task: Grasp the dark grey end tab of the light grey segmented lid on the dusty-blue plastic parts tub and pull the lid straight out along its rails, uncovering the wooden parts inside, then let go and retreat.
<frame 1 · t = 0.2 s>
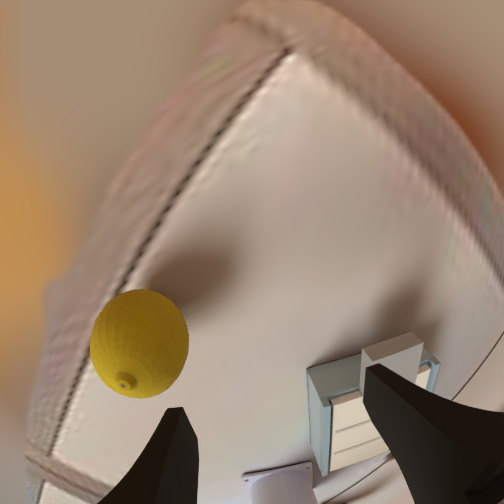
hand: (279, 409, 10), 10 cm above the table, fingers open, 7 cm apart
lid: (382, 414, 19), point 4 cm above the table, slide at 0.0 cm
lemon: (153, 308, 19), on the table
tub: (359, 396, 23), on the table
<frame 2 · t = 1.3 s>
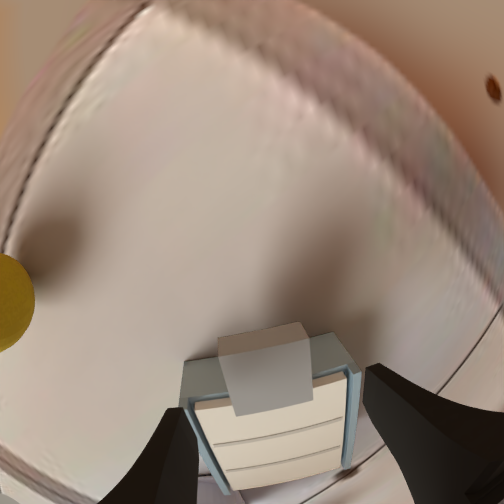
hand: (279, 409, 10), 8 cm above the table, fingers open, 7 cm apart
lid: (278, 433, 15), point 4 cm above the table, slide at 0.0 cm
lemon: (25, 278, 15), on the table
tub: (270, 405, 20), on the table
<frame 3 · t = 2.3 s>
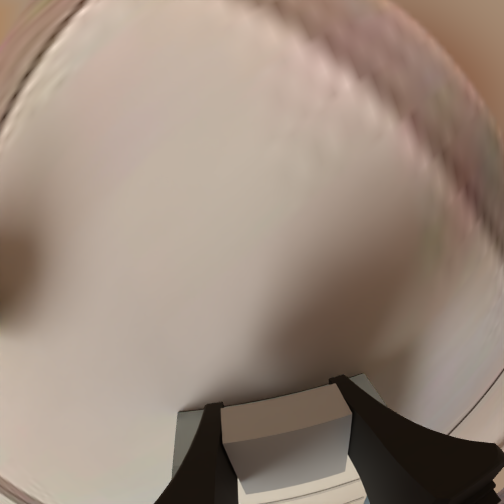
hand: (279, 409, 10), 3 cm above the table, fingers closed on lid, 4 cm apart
lid: (296, 497, 10), point 4 cm above the table, slide at 0.0 cm, touching gripper
tub: (282, 453, 15), on the table
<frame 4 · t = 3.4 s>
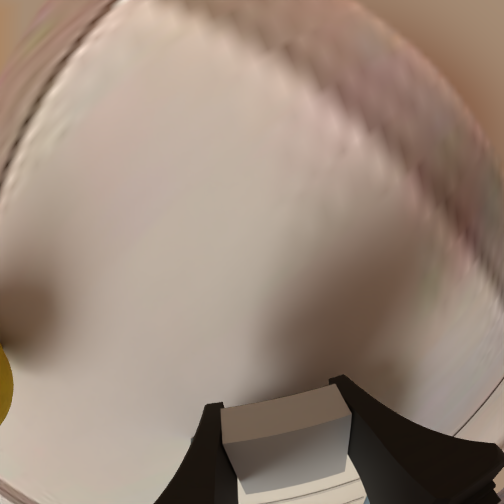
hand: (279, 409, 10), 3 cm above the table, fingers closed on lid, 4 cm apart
lid: (296, 497, 10), point 4 cm above the table, slide at 2.4 cm, touching gripper
lemon: (1, 343, 11), on the table
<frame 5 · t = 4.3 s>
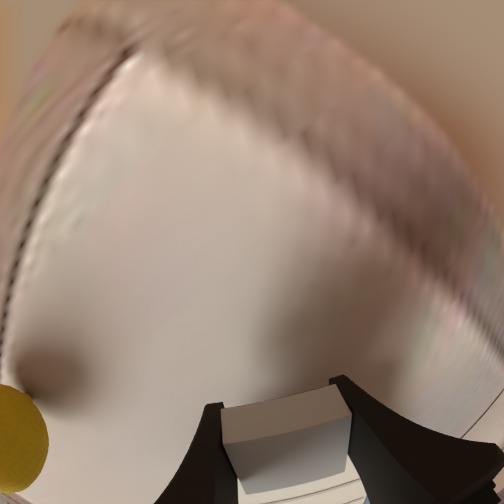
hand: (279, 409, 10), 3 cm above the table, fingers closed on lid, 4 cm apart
lid: (296, 497, 10), point 4 cm above the table, slide at 6.2 cm, touching gripper
lemon: (29, 393, 12), on the table
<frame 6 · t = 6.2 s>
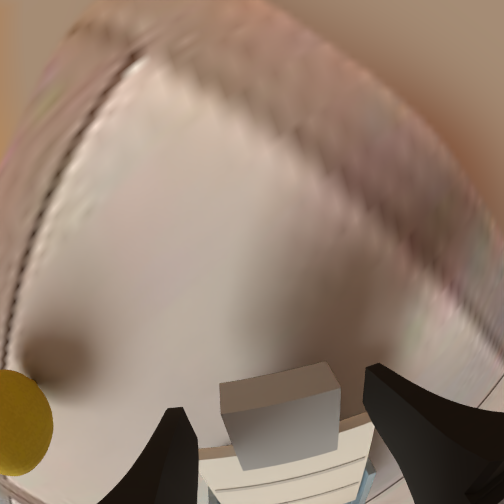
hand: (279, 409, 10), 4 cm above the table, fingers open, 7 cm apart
lid: (291, 478, 11), point 5 cm above the table, slide at 6.1 cm
lemon: (35, 380, 13), on the table
tub: (286, 477, 18), on the table
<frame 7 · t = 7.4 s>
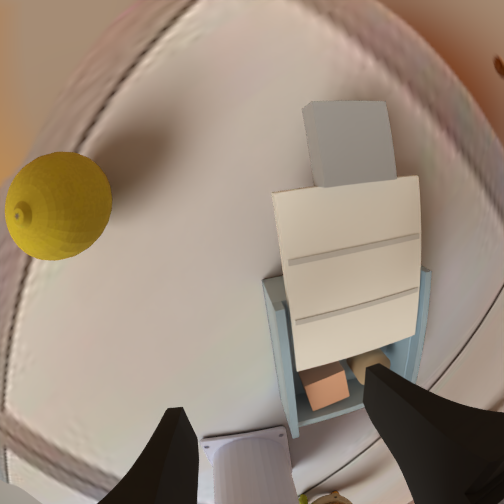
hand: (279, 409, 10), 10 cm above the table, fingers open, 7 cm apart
lid: (361, 243, 14), point 5 cm above the table, slide at 6.1 cm
bird rattle: (316, 494, 29), on the table
lemon: (91, 197, 17), on the table
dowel: (362, 354, 21), resting on tub
block: (318, 372, 21), resting on tub
tub: (336, 332, 21), on the table
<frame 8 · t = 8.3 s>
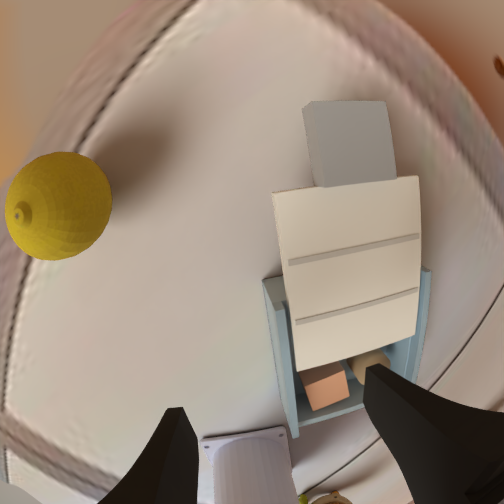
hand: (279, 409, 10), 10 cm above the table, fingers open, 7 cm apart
lid: (361, 243, 14), point 5 cm above the table, slide at 6.1 cm
bird rattle: (316, 494, 29), on the table
lemon: (91, 197, 17), on the table
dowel: (362, 354, 21), resting on tub
block: (318, 372, 21), resting on tub
tub: (336, 332, 21), on the table
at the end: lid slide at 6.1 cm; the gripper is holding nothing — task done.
